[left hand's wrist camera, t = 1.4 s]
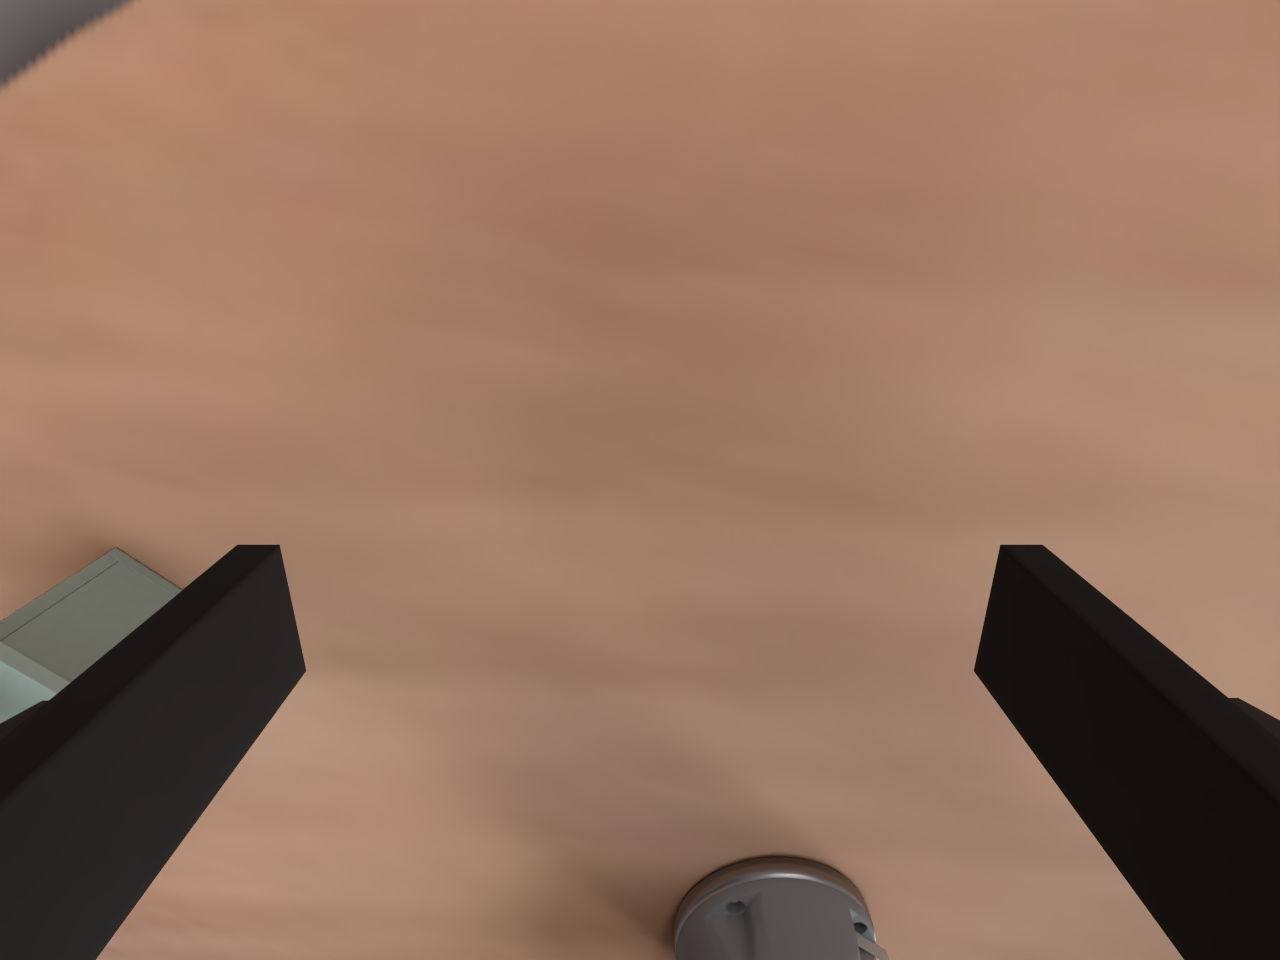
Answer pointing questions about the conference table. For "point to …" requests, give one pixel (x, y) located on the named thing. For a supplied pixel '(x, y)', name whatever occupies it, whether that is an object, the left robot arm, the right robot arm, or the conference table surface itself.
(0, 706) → the lid
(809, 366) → the conference table surface
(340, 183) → the conference table surface
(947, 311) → the conference table surface
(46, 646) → the chest
